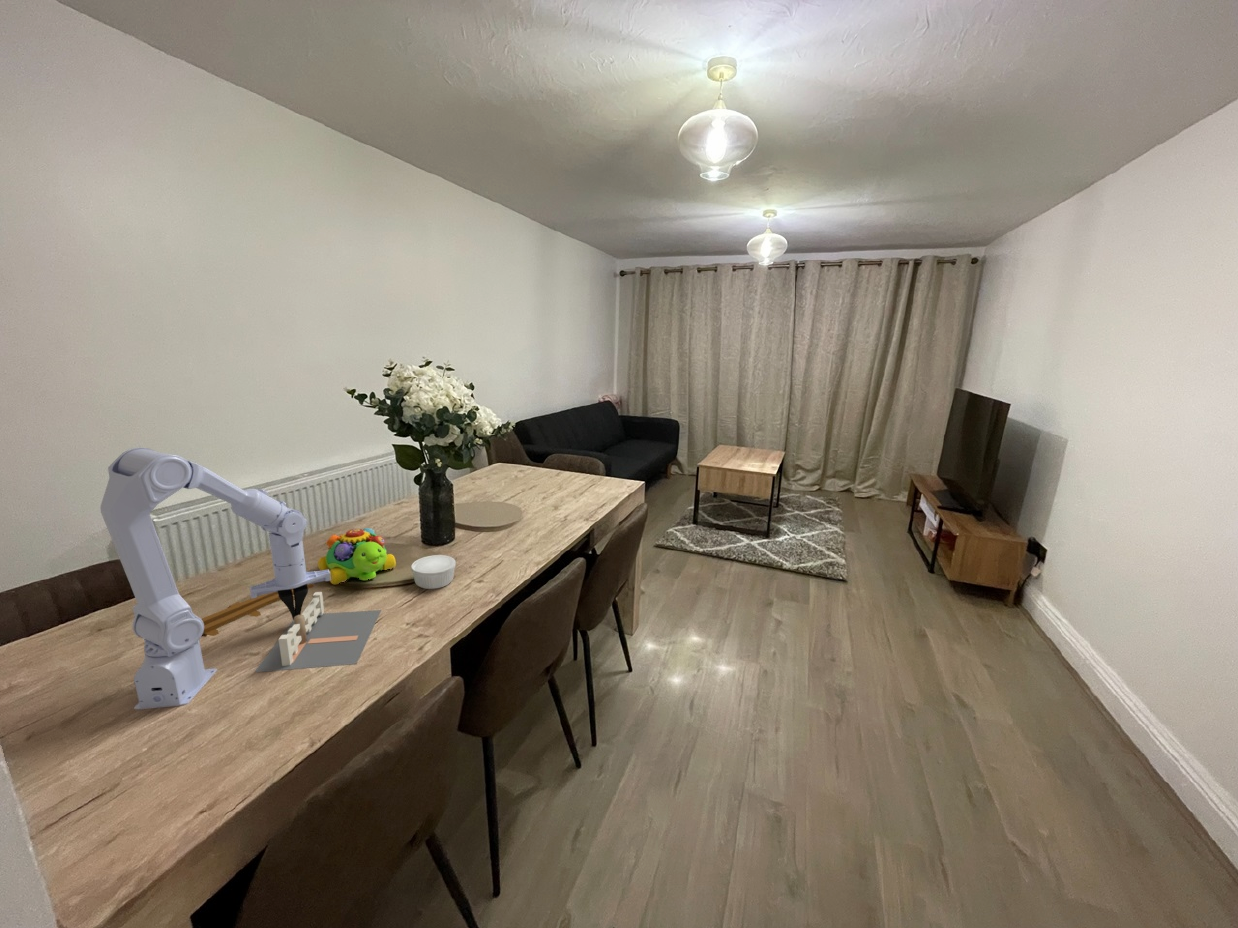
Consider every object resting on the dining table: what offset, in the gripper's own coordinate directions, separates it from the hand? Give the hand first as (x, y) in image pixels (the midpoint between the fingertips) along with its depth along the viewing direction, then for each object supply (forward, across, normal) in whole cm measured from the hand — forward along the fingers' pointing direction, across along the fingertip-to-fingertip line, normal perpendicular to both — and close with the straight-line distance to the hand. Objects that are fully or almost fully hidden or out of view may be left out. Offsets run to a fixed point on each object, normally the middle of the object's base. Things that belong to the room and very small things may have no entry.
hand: (296, 616), depth 109 cm
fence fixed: (+2, +2, +11) cm, 11 cm away
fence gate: (+2, -3, +2) cm, 4 cm away
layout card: (+2, -4, +8) cm, 10 cm away
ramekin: (+3, -32, -4) cm, 32 cm away
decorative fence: (+3, +7, -14) cm, 16 cm away
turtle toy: (+3, -17, -19) cm, 26 cm away
